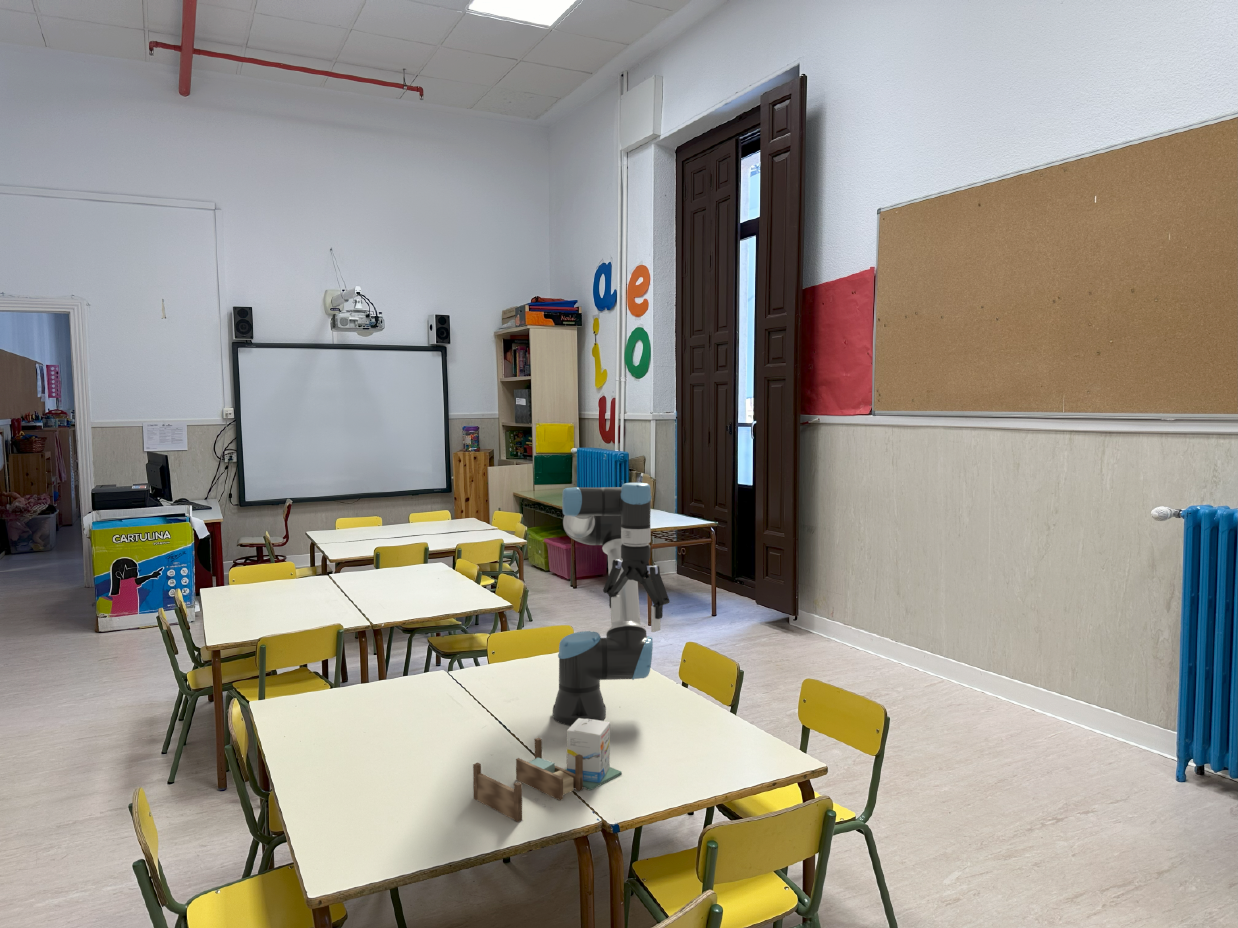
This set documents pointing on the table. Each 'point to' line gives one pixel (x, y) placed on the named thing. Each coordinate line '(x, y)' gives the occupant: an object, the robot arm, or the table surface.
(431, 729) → the table surface
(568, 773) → the rack
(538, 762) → the offcut
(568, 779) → the offcut
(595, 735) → the ink box
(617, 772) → the mat
